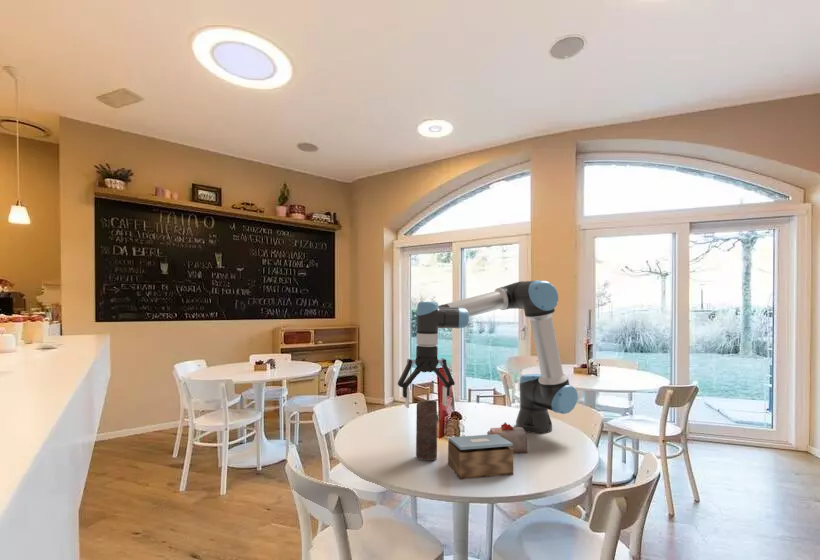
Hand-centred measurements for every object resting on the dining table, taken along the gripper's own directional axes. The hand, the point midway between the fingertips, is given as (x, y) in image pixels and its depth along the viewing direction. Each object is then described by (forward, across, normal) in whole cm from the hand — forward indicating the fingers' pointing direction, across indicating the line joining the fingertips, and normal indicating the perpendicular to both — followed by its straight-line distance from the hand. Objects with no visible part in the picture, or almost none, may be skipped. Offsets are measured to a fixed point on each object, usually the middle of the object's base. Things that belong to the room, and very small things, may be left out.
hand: (426, 406), depth 145 cm
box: (+18, -16, +12) cm, 27 cm away
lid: (+9, -15, +12) cm, 22 cm away
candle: (+18, 0, 0) cm, 19 cm away
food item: (+18, -32, -2) cm, 37 cm away
